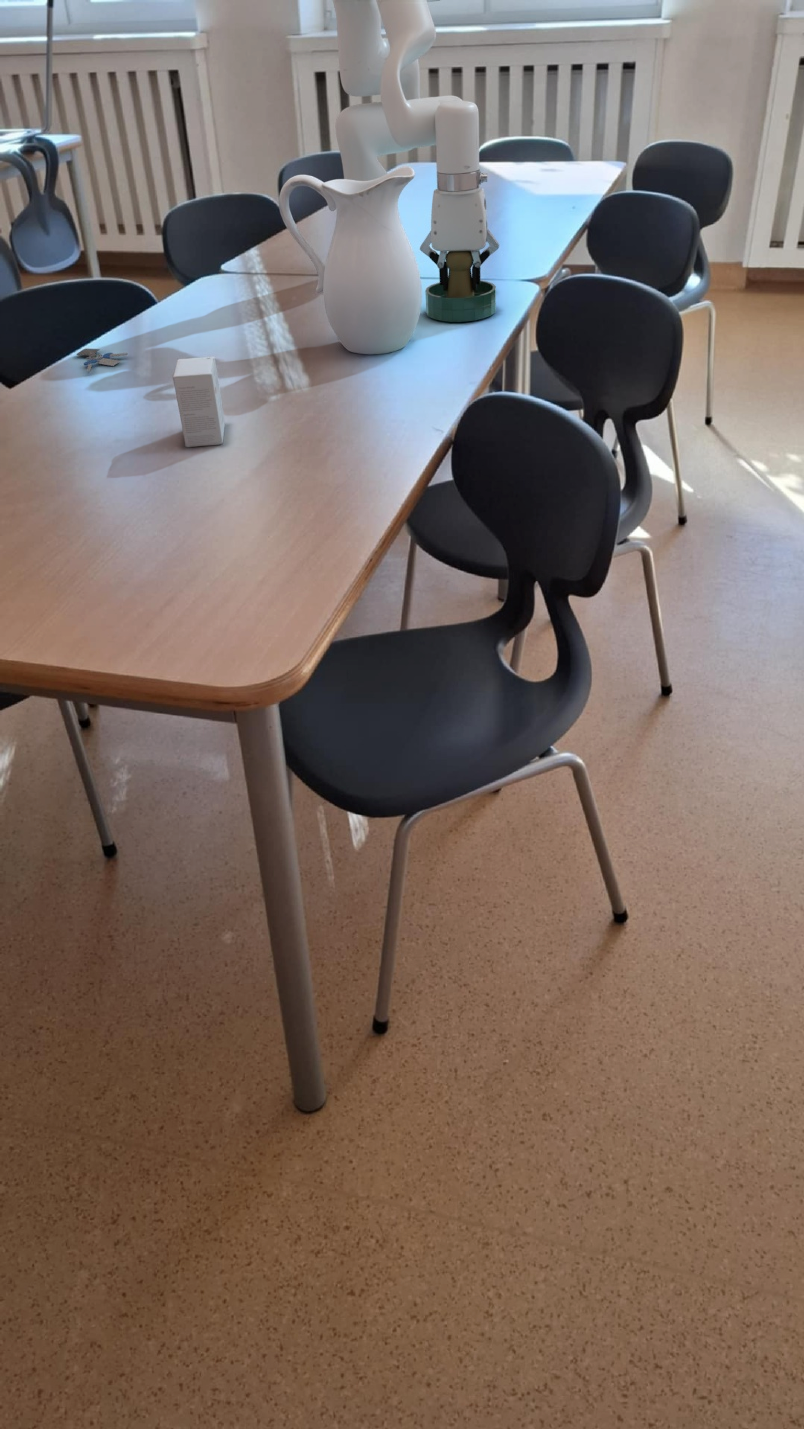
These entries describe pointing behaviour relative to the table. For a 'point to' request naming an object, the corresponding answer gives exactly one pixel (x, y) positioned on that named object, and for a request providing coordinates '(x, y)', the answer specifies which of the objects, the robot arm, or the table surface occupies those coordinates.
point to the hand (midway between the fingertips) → (460, 287)
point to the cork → (459, 274)
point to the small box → (199, 401)
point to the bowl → (461, 303)
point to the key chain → (99, 357)
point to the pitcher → (364, 261)
